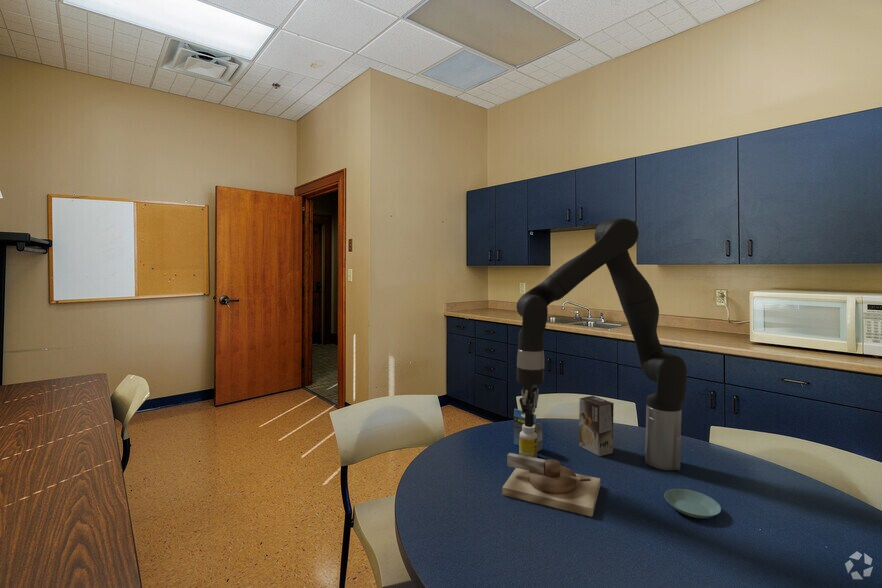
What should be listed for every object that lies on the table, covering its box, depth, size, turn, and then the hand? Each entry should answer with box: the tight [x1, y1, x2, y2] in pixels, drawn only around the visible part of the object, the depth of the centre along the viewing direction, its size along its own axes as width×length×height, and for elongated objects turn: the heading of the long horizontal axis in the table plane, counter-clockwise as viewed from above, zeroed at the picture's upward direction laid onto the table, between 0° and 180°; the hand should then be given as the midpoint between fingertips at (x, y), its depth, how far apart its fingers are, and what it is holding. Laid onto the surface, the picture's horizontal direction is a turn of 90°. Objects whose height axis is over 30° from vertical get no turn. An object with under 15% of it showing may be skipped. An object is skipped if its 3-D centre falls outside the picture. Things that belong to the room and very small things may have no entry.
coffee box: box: [578, 395, 615, 457], centre depth 137 cm, size 9×6×16 cm
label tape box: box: [513, 408, 543, 453], centre depth 139 cm, size 9×4×12 cm, turn 43°
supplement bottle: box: [518, 424, 538, 458], centre depth 132 cm, size 5×5×10 cm
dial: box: [506, 452, 581, 493], centre depth 113 cm, size 19×12×5 cm, turn 63°
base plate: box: [501, 468, 601, 518], centre depth 112 cm, size 22×16×2 cm
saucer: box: [663, 488, 722, 519], centre depth 103 cm, size 12×12×2 cm
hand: (529, 425), depth 121 cm, fingers closed
